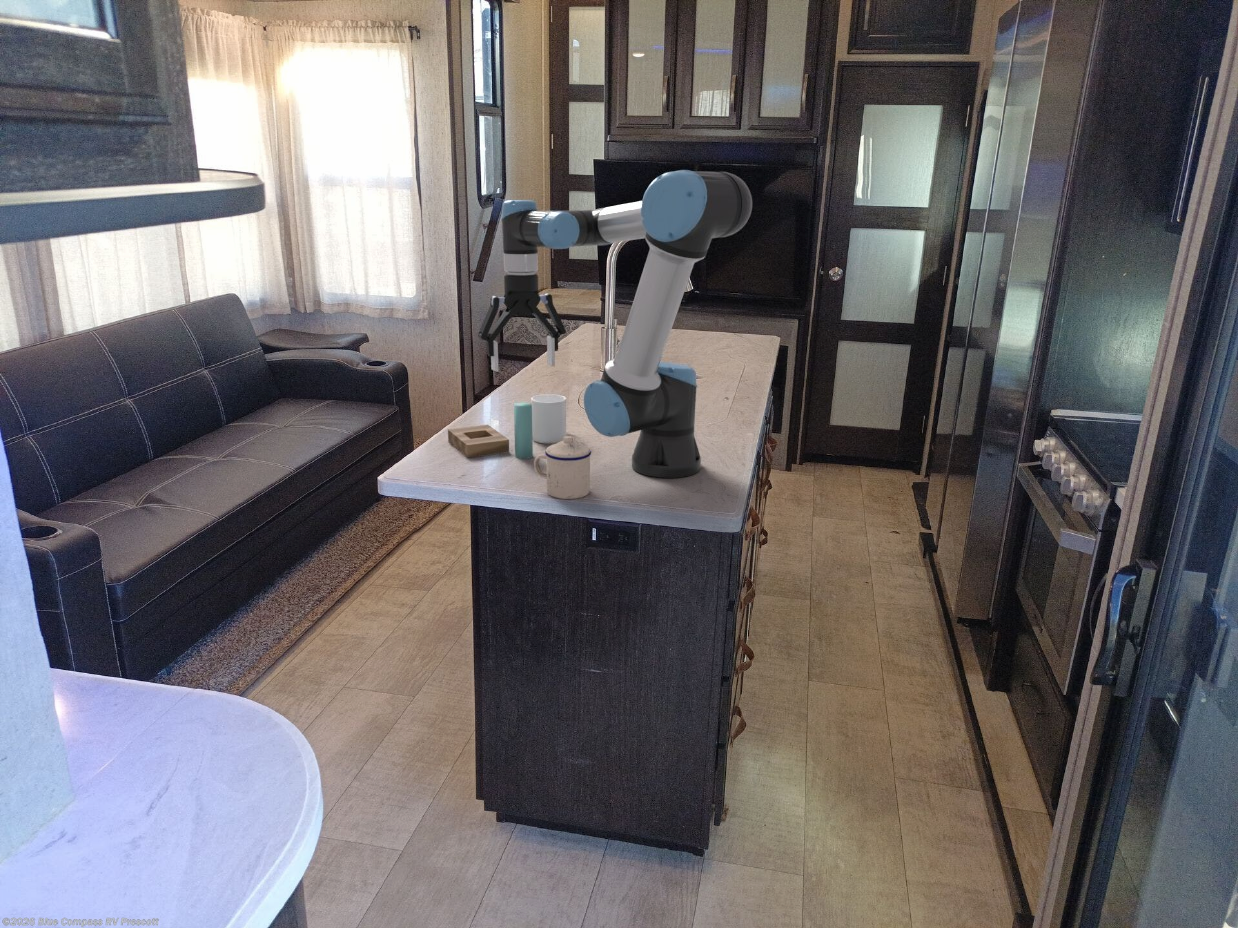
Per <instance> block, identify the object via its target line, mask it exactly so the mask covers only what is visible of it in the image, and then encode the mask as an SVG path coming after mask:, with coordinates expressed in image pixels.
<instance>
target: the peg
mask: <svg viewBox="0 0 1238 928" xmlns="http://www.w3.org/2000/svg"><path fill="white" fill-rule="evenodd" d="M513 414H514V415H513V418H514V419H513V421H514V423H513V424H514V426H513V427H514V457H515V458H517V459H522V460H523V459H532V458H533V455H534V452H533V451H534V450H533V449H534V448H533V447H534V446H533V445H534V444H533V442H534V440H533V435H532V404H531V403H530V402H525V401H523V402H516V403H513Z"/></svg>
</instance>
